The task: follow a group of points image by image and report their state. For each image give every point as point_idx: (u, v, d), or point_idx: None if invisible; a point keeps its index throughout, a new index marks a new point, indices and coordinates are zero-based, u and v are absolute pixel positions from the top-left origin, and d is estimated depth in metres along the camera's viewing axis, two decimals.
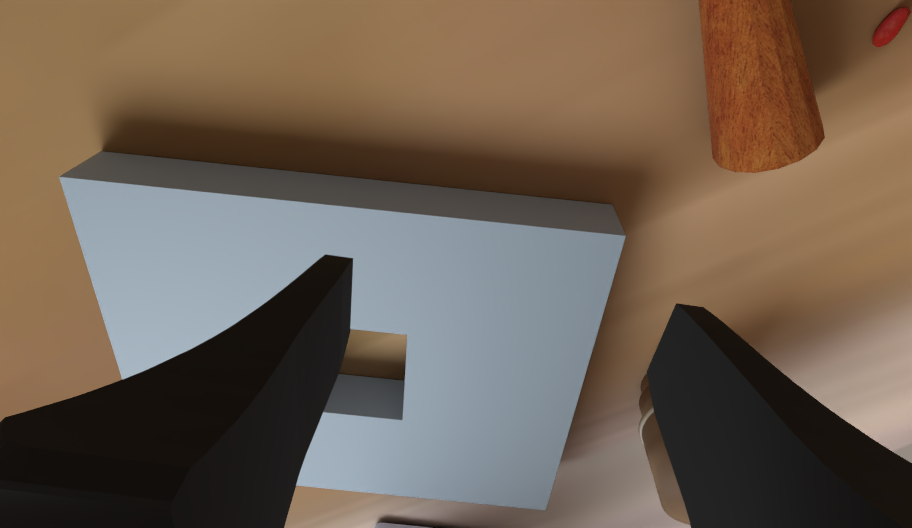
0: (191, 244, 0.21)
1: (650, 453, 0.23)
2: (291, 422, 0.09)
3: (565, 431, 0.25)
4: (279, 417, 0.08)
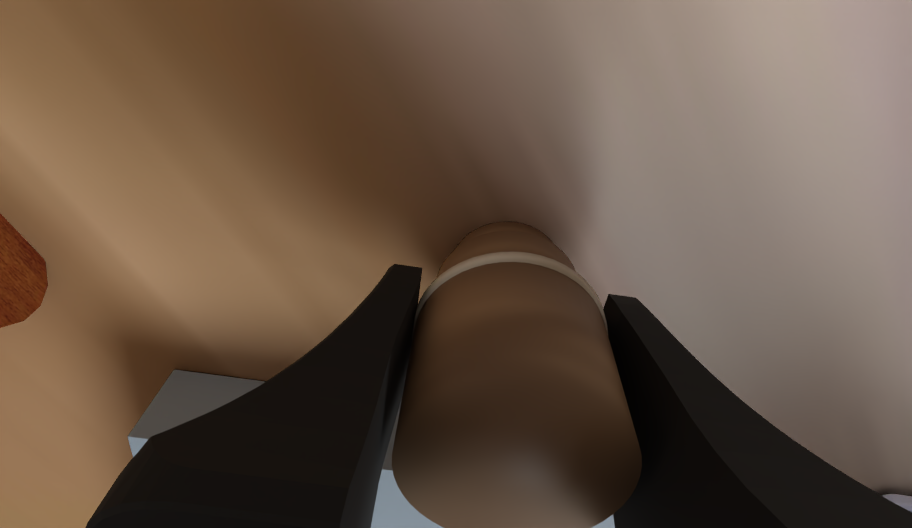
0: None
1: None
2: (381, 434, 0.09)
3: None
4: (378, 430, 0.08)
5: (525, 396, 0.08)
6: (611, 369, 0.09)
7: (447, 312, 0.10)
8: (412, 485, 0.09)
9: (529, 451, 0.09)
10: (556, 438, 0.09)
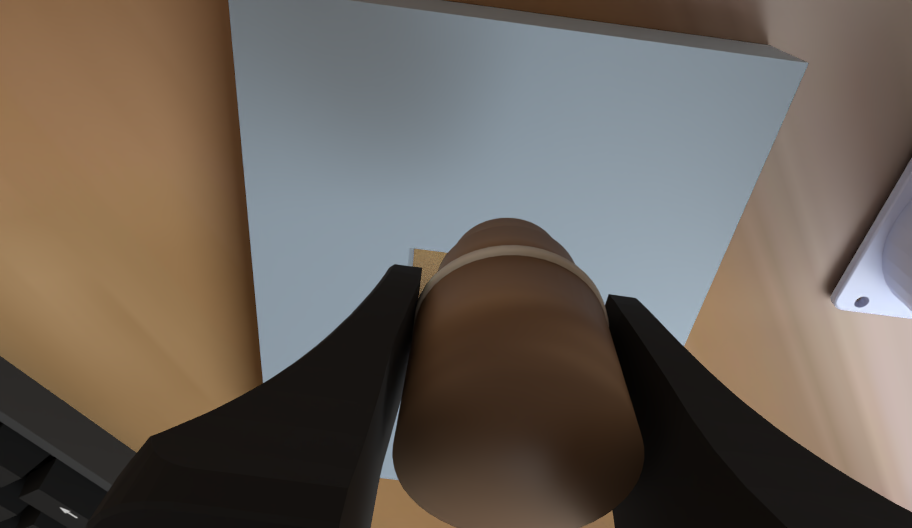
0: None
1: None
2: (381, 434, 0.09)
3: (597, 40, 0.15)
4: (378, 430, 0.08)
5: (528, 386, 0.08)
6: (614, 361, 0.09)
7: (449, 304, 0.10)
8: (412, 477, 0.09)
9: (531, 443, 0.09)
10: (559, 429, 0.08)
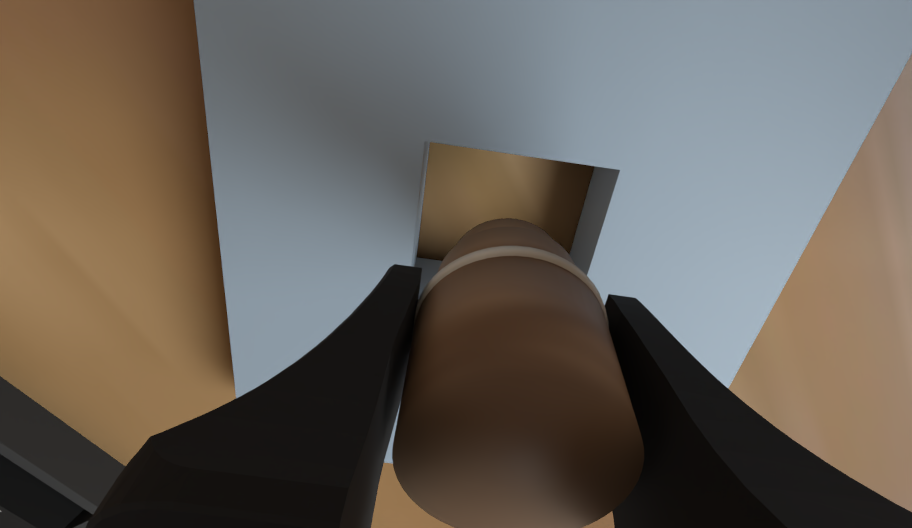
0: None
1: None
2: (381, 434, 0.09)
3: None
4: (378, 430, 0.08)
5: (528, 386, 0.08)
6: (614, 362, 0.09)
7: (449, 305, 0.10)
8: (412, 478, 0.09)
9: (531, 444, 0.09)
10: (559, 430, 0.08)
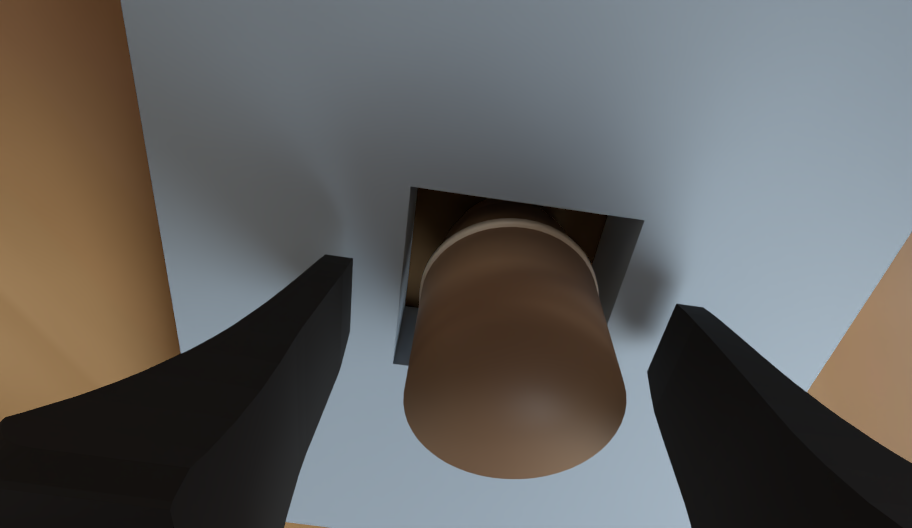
0: None
1: None
2: (291, 422, 0.09)
3: None
4: (279, 417, 0.08)
5: (523, 336, 0.09)
6: (600, 319, 0.10)
7: (453, 269, 0.11)
8: (420, 422, 0.10)
9: (526, 389, 0.10)
10: (551, 376, 0.10)
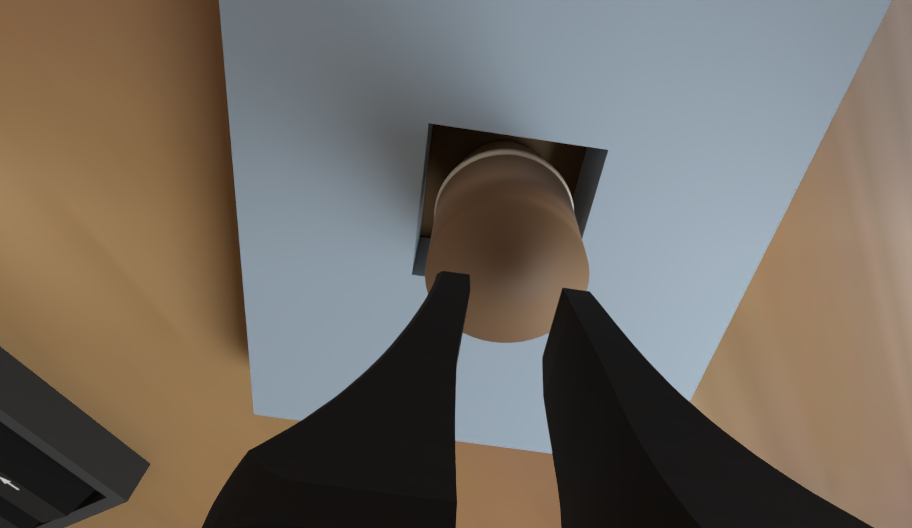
0: (310, 337, 0.19)
1: None
2: None
3: None
4: None
5: (513, 218, 0.13)
6: (571, 216, 0.14)
7: (461, 183, 0.15)
8: None
9: (515, 263, 0.13)
10: (533, 252, 0.13)
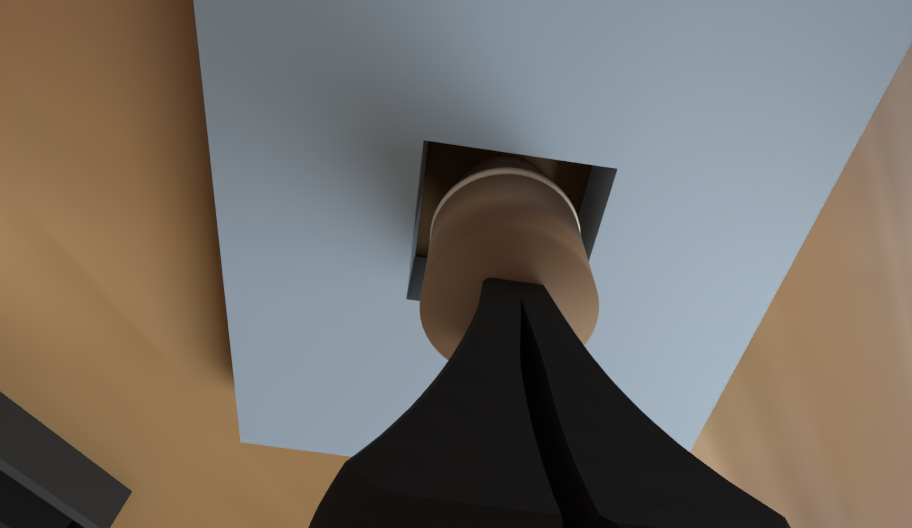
0: (298, 364, 0.18)
1: None
2: None
3: None
4: None
5: (516, 248, 0.12)
6: (579, 243, 0.13)
7: (459, 206, 0.13)
8: (433, 327, 0.13)
9: None
10: None
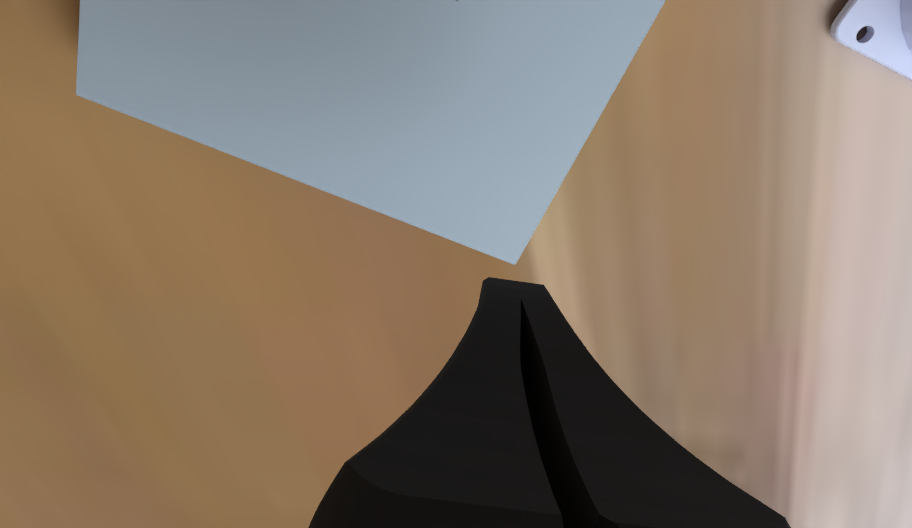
0: None
1: None
2: None
3: None
4: None
5: None
6: None
7: None
8: None
9: None
10: None
